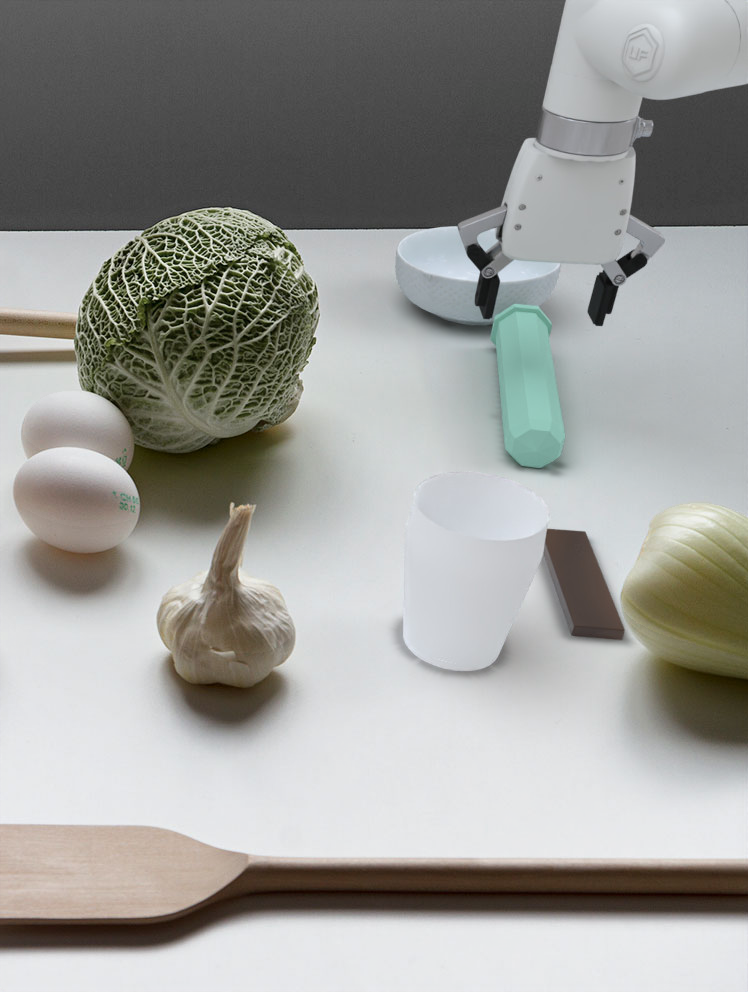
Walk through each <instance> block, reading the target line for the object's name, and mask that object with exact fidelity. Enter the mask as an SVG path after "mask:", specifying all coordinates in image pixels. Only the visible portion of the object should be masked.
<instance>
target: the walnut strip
mask: <svg viewBox="0 0 748 992" xmlns="http://www.w3.org/2000/svg"><path fill="white" fill-rule="evenodd" d="M543 557H544V560H545V563H546V566H547V568H548V571H549V574H550V577H551V580H552V582H553V583H552V584H553V586H554V589H555V592H556V595H557V598H558V600H559V602H560V603H559V604H560V606H561V609H562V612H563V615H564V618H565V621H566V624H567V627H568V630H569V633H570V635H571V637H580V638H592V639H603V640H605V639H607V640H617V641H622V640H623V638H624V634H625V631H626V630H625V627H624V624H623V621H622V620H621V617H620V614H619V612H618V609H617V607H616V604H615V602H614V600H613V597H612V594H611V592H610V589H609V587H608V584H607V582H606V579H605V576H604V574H603V571H602V570H601V566H600V564H599V561H598V559H597V557H596V555H595V552H594V549H593V547H592V544H591V542H590V539H589V536H588V534H587V532H586V531H584V530H574V529H572V530H571V529H570V530H569V529H559V528H547V532H546V538H545V544H544V552H543Z"/></svg>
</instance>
